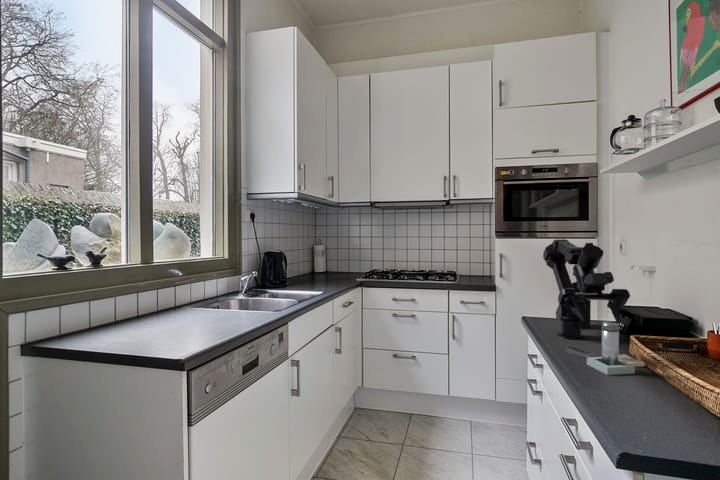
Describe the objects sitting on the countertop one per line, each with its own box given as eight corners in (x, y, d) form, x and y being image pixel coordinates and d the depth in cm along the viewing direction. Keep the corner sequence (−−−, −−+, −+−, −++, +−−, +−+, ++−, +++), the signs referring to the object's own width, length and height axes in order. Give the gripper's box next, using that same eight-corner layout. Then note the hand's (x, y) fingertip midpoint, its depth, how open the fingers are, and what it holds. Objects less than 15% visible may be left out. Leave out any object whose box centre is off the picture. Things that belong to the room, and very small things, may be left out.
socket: (586, 364, 109) (586, 357, 109) (612, 362, 110) (612, 356, 110) (607, 375, 101) (607, 367, 101) (634, 373, 102) (634, 366, 102)
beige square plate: (603, 358, 113) (603, 355, 113) (625, 357, 114) (625, 354, 114) (621, 367, 106) (621, 363, 106) (644, 366, 107) (644, 362, 107)
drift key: (565, 351, 121) (565, 347, 121) (569, 350, 122) (569, 346, 121) (590, 358, 114) (590, 355, 113) (593, 357, 114) (594, 354, 114)
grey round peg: (597, 366, 107) (598, 321, 107) (611, 365, 108) (611, 321, 107) (608, 371, 103) (609, 325, 103) (622, 371, 104) (622, 324, 103)
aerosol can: (594, 329, 145) (595, 278, 144) (571, 329, 146) (571, 278, 146) (586, 324, 153) (586, 275, 152) (564, 323, 154) (564, 275, 154)
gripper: (560, 262, 118) (573, 304, 107) (627, 262, 114) (647, 306, 103) (553, 283, 126) (564, 324, 115) (615, 284, 122) (632, 327, 111)
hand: (601, 320), depth 111 cm, fingers open, 9 cm apart
